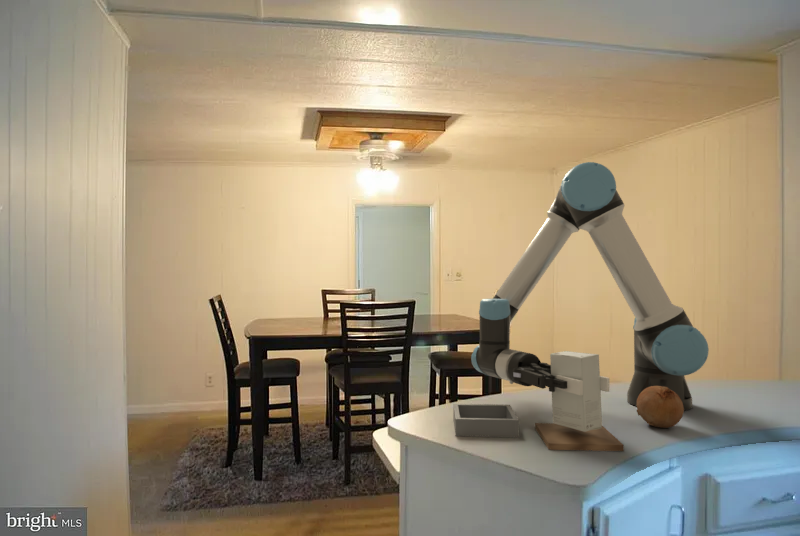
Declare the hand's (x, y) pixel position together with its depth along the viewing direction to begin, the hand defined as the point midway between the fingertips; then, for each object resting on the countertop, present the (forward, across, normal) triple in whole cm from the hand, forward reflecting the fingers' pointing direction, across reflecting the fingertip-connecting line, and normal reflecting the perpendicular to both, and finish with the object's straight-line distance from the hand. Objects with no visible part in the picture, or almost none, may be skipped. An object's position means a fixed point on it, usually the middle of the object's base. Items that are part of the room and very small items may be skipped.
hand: (594, 386), depth 104 cm
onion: (-4, -24, -12) cm, 27 cm away
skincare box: (-5, 0, -9) cm, 10 cm away
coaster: (-5, 0, -12) cm, 13 cm away
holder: (-20, +12, -12) cm, 26 cm away
